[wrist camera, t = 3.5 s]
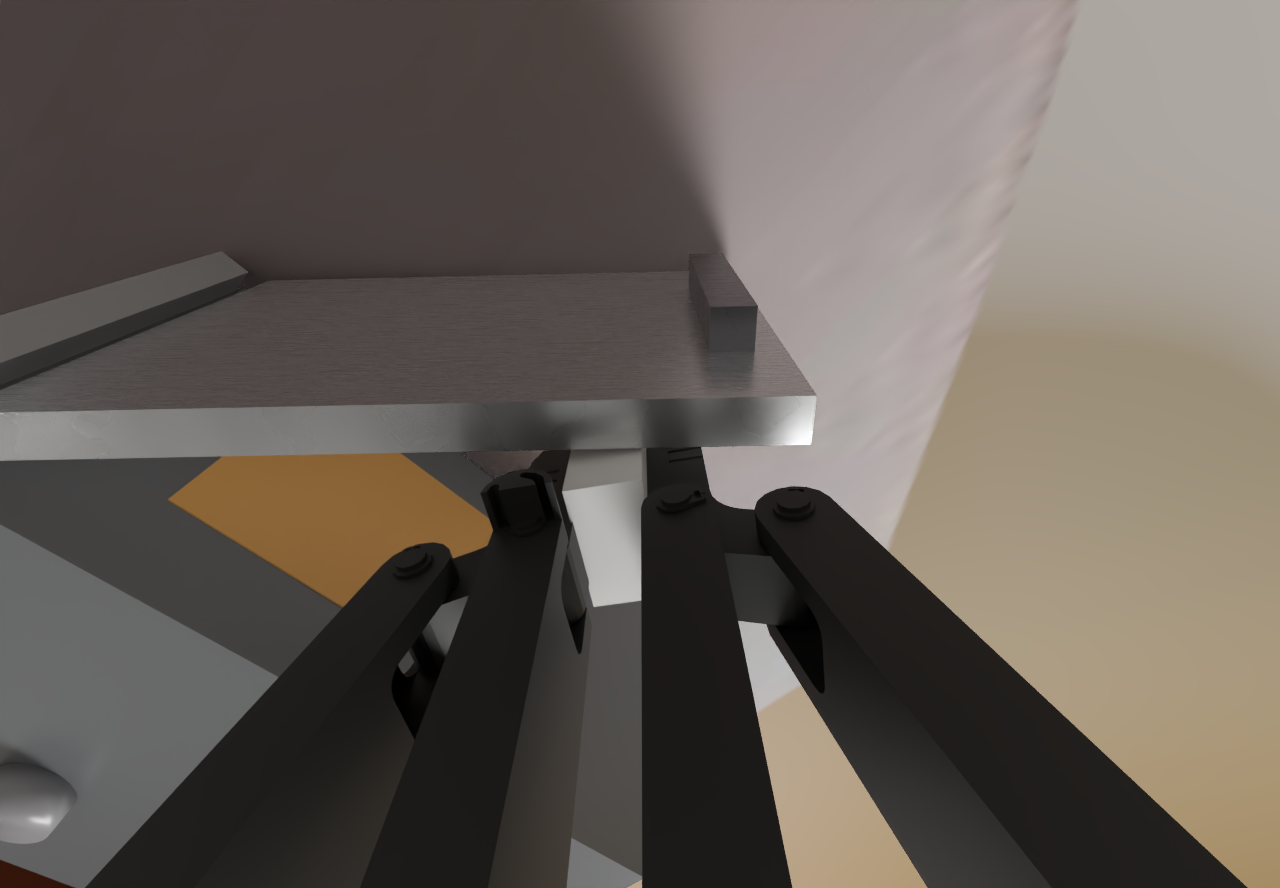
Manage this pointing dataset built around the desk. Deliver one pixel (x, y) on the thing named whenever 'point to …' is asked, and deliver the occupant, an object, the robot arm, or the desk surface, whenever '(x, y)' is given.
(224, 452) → the side door
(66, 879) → the grey cabinet with knob
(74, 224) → the desk surface
